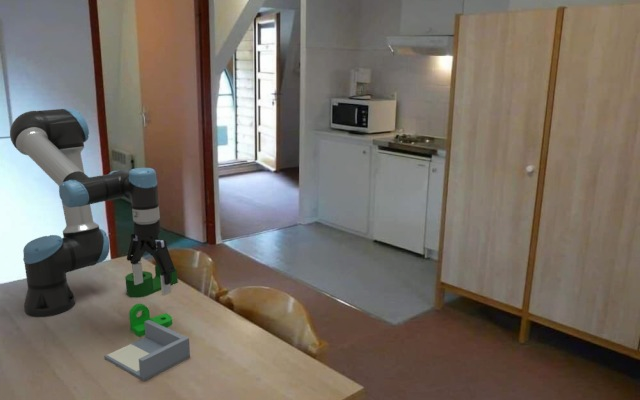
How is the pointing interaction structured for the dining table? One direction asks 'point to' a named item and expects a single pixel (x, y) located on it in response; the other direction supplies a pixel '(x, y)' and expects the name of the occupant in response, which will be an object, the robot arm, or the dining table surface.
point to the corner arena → (152, 352)
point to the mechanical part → (138, 322)
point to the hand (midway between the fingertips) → (152, 288)
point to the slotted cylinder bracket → (147, 283)
